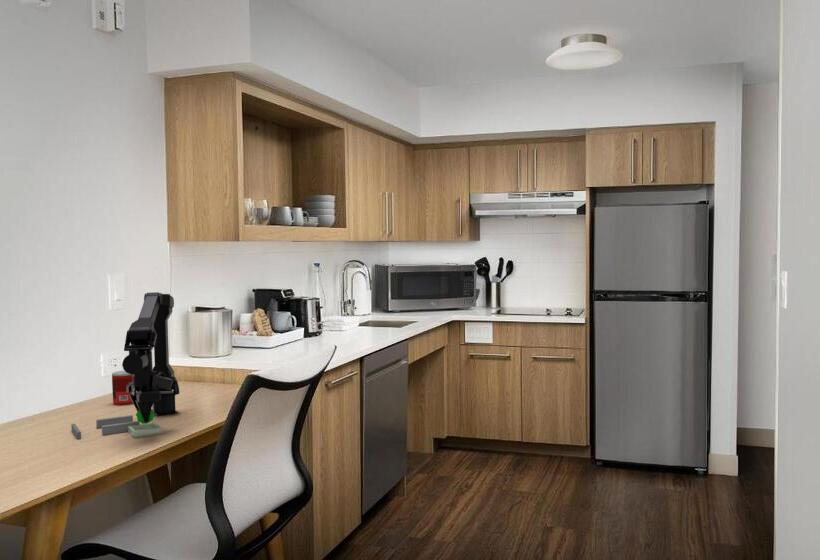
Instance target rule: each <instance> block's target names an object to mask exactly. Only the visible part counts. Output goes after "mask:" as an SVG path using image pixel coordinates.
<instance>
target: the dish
mask: <svg viewBox="0 0 820 560" xmlns="http://www.w3.org/2000/svg"><path fill="white" fill-rule="evenodd" d="M127 433H128V434H129V436H131V437H132V438H133V439H136V438H142V437H150V436H156V435H162V434H163V433H162V427H161V426H160V425H159V424H158V423H157V422H149V423H147V424H142V423H139V425H133V426H128V432H127Z"/></svg>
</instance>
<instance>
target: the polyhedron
mask: <svg viewBox="0 0 820 560" xmlns="http://www.w3.org/2000/svg"><path fill="white" fill-rule="evenodd" d="M154 414H155V413H153V410H152V408H151V412H150V416H149V421H148V422H144V420H143V417H142V415H141V413H140V410H138V411H137V410H136V414H135V416H136V420H137V421H139V424H147V423H151V422H152V421H153V419H154V417H155V415H154Z"/></svg>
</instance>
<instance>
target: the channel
mask: <svg viewBox="0 0 820 560" xmlns="http://www.w3.org/2000/svg"><path fill="white" fill-rule="evenodd" d="M95 421H96V422H95V423H96V424H95V425H96V429H97V430H98V429H101V435H102V436H108V435H114V434H121V433H128V426H133V425H140V422H139V421H138V420H135V421H134V416H133V414H126V415H120V416H114V417H106V418H97V419H96V420H95ZM70 426H71V432H72V433H73V435H74V436H75V438H76V439H77V440H81V439H82V431H81V430H80V429H79V427H78V426H77V424H76V423H71V424H70Z"/></svg>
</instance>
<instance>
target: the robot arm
mask: <svg viewBox="0 0 820 560" xmlns="http://www.w3.org/2000/svg"><path fill="white" fill-rule="evenodd" d="M174 306H175V299H174V297H173V296H172V295H170V293H161V292H158V291H157V292H146V293H144V297H143V303H142V307H141V309H140V313H139V315H138V318H137V319H136V320H135V321H132V323H131V324H130V326H129V328H128V330H127V331H126V334H125V341H124V348H123V352H128V355H126V356H125V357H124V359H122V360H123V361H122V363H121V366H122V370H123V371H125V372H127V373H129V374H131V375H132V376H133V382H130V383H128V385H127V386H126V390H127V393H130V392H131V391H132V394H130V395H129V396H130V398H131V400H132V402H133V404H132V405H133V406H134V408H135V409H136V412H137V411H138V410H140V413H141V415H142V417H143V420H144V422H148V421H149V416H150V412H151V409H152V410H153V414H155V415H156V416H164V415H172V414H177V413H178V411H177V410H176V396H177V395H180V386H179V381H178V380H177V377H176V376H175V370H174V368H172V366H171V365H170V355H169V354H170V353H169V352H170V350H169V318H170V317H171V315H172V313H173V308H174ZM153 351H154V353H153ZM153 355H154V366H153Z"/></svg>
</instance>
